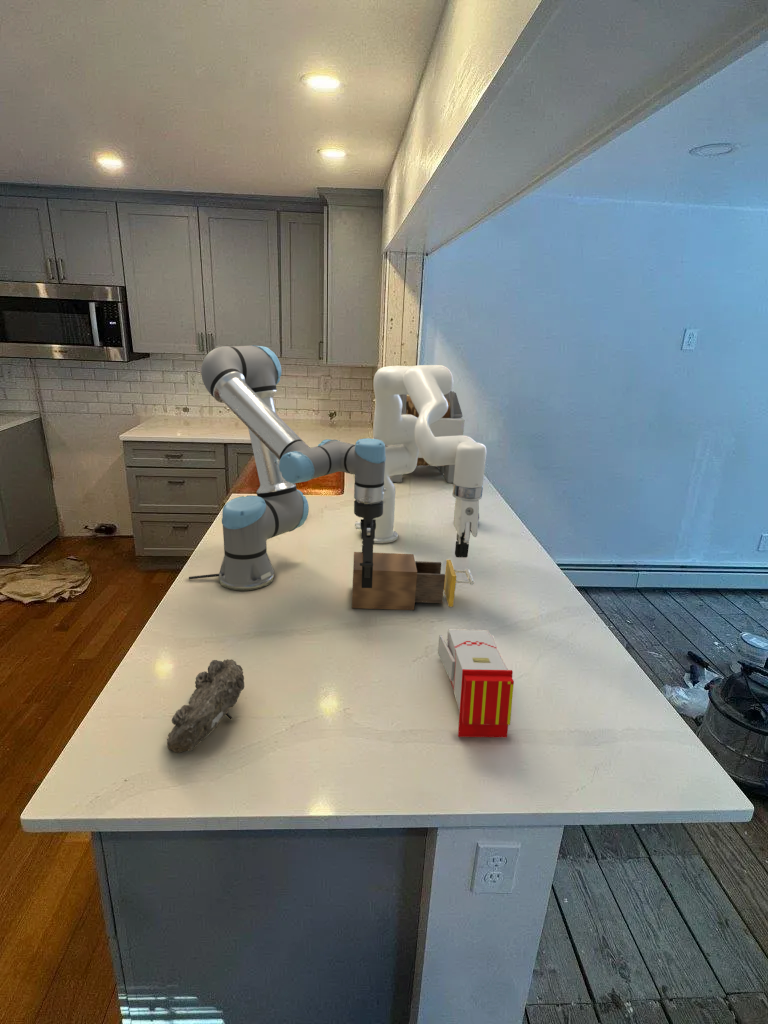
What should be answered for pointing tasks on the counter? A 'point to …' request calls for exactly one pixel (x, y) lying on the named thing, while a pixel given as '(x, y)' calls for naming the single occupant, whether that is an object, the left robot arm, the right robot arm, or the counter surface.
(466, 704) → the toy
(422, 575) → the drawer
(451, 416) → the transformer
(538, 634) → the counter surface
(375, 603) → the cabinet
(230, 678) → the fossil
